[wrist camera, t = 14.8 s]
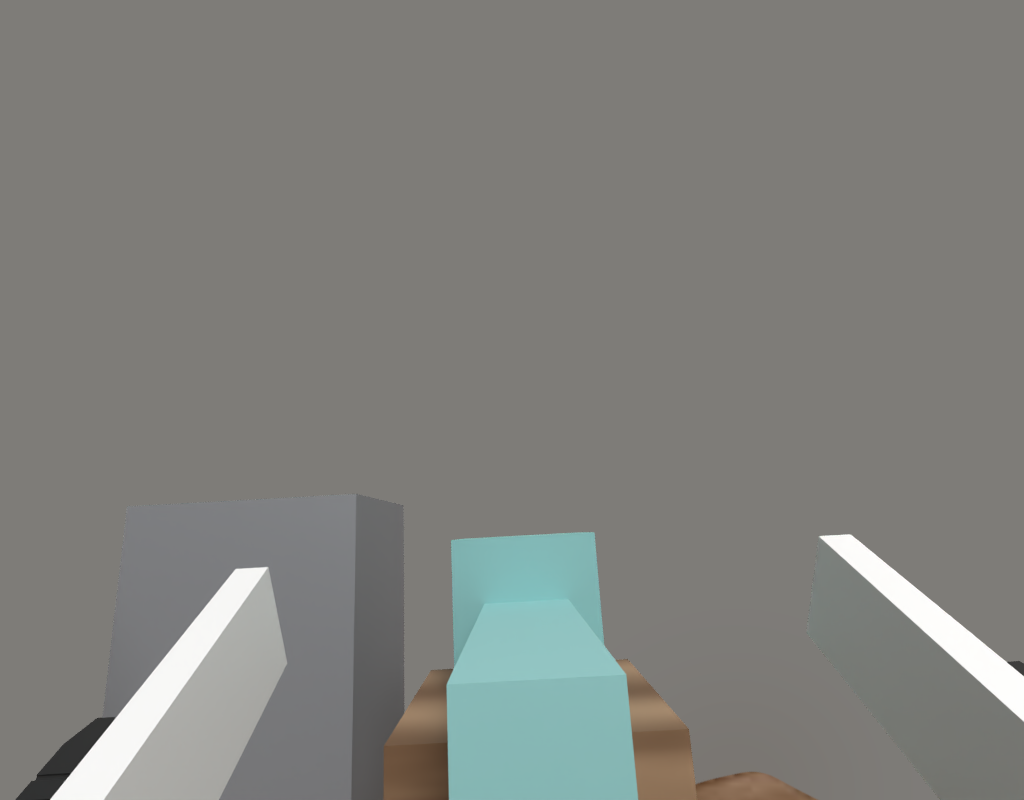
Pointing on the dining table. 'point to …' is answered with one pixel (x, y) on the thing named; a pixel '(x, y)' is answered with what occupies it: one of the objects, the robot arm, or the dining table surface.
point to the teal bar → (534, 675)
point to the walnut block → (424, 744)
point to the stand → (303, 622)
